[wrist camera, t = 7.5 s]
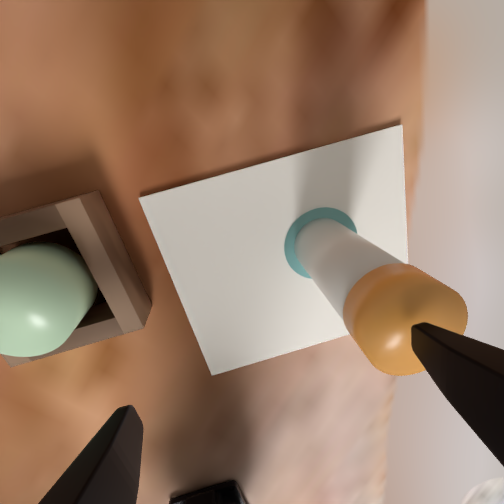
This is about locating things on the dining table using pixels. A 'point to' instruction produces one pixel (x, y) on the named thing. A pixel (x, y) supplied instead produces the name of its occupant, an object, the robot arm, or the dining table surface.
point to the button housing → (97, 259)
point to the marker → (376, 294)
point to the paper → (274, 243)
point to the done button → (42, 297)
